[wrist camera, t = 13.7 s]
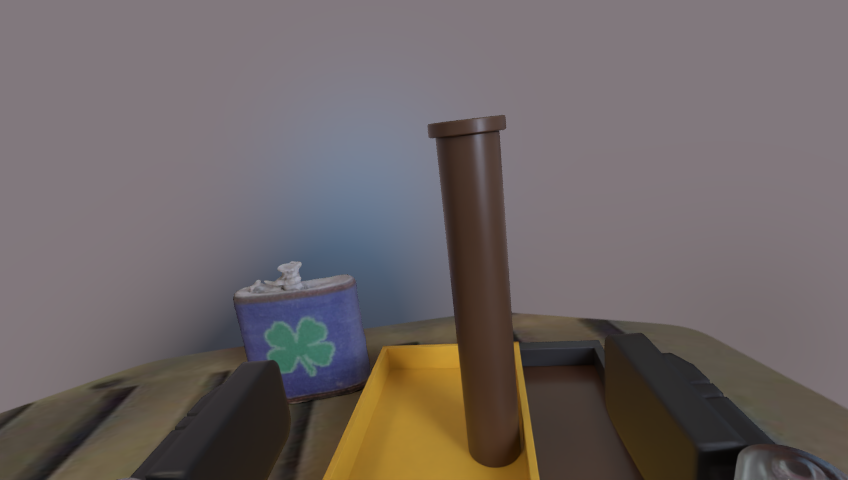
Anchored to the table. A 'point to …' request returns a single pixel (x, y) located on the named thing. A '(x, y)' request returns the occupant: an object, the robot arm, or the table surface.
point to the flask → (306, 332)
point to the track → (572, 413)
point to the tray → (453, 348)
